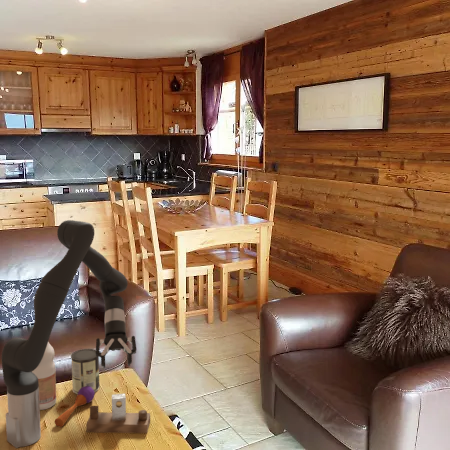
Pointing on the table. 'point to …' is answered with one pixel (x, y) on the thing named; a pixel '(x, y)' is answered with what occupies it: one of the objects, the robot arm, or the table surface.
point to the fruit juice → (46, 379)
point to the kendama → (76, 404)
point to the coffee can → (85, 369)
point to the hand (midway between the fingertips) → (116, 366)
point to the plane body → (117, 422)
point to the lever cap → (118, 407)
